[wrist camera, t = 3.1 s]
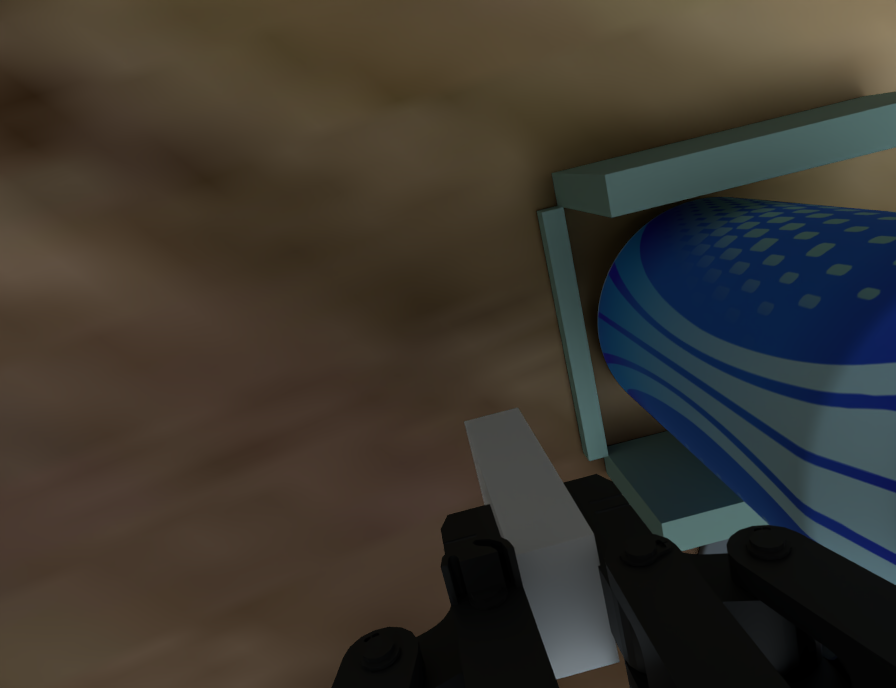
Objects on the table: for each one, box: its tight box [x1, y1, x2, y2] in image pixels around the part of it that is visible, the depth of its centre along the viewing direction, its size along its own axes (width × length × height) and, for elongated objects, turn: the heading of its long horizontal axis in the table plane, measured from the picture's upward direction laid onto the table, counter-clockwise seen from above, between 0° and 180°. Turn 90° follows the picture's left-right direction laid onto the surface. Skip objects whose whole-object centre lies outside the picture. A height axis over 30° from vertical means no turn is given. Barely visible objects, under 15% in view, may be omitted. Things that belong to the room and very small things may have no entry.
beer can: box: [598, 197, 896, 585], centre depth 18 cm, size 8×8×16 cm
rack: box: [537, 92, 896, 551], centre depth 23 cm, size 12×13×6 cm
